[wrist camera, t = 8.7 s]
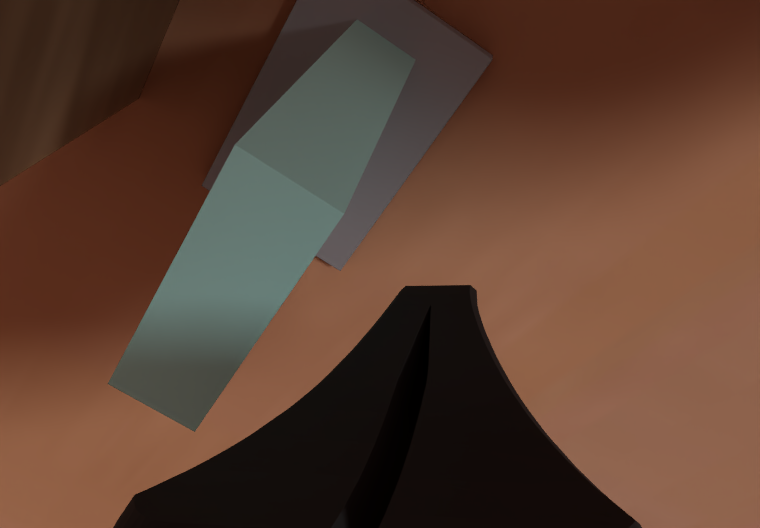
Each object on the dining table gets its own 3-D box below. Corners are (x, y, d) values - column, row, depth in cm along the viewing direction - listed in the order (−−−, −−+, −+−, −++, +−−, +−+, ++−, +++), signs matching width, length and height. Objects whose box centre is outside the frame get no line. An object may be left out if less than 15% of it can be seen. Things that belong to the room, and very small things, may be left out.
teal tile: (415, 59, 15) (343, 213, 8) (312, 216, 18) (194, 431, 11) (356, 19, 15) (234, 144, 8) (261, 184, 18) (108, 383, 11)
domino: (213, -84, 15) (-33, -43, 8) (138, 98, 17) (-97, 247, 11) (149, -129, 15) (-161, -125, 8) (82, 63, 17) (-195, 193, 10)
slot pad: (492, 55, 15) (492, 59, 15) (343, 263, 19) (340, 270, 19) (330, -59, 15) (326, -57, 14) (207, 179, 18) (201, 185, 18)
